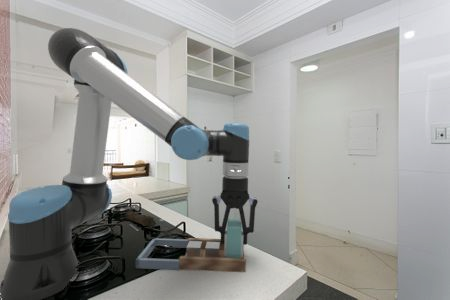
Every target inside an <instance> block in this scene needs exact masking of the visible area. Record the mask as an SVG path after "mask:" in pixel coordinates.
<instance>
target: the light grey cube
mask: <svg viewBox="0 0 450 300" xmlns="http://www.w3.org/2000/svg"><path fill="white" fill-rule="evenodd" d="M219 256H220V242H207V244H206V247H205V257H216V258H219Z"/></svg>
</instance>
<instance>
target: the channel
mask: <svg viewBox="0 0 450 300" xmlns="http://www.w3.org/2000/svg"><path fill="white" fill-rule="evenodd" d="M187 240H188V243H189V241H202V256H201V257H190V256H186V254H185V255H183V256H182V255H181V256H179V259H178V260H179V270H180V271H181V270H184V271H206V272H207V271H208V272H210V271H211V272H214V271H215V272H230V273H231V272H232V273H233V272H234V273H235V272H236V273H246V268H247V267H246V266H247V265H246V263H247V260H246V258H245V253H244V252H245V251H244V248H245V247H244V246H245V245H243V257H241V258H227V256H224V244H221V238H207V237H206V238H202V237H201V238H199V237H188V238H187ZM207 242H220V256H219V258H216V257H205V247H206V244H207Z"/></svg>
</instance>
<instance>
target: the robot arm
mask: <svg viewBox="0 0 450 300" xmlns="http://www.w3.org/2000/svg"><path fill="white" fill-rule="evenodd" d="M47 50H48V54H49V57H50V59H51V61H52V62H53V64H54V65H55V66H56V67H57V68H58V69H60V70H61V71H62V72H64V73H66V74H67V75H69V76H70V77H71V78H72V79H74V80H73V87H74V88H75V90H76V91H77V92H78V101H77V110H76V116H75V126H74V134H73V142H72V143H73V144H72V149H71V150H72V151H71V157H70V158H71V160H70V167H69V172H68V173H67V174H65V175H64V176H63V177H62V184H52V185H51V184H50V185H44V186H42V187H40V186H39V187H38V186H37V187H35V188H31V189H27V190H24V191H22V192H20V193H18V194H16V195H15V196H14V197H12V198H11V200H10V202H9V206H8V207H9V211H8V213H7V219H8V230H9V231H8V234H9V263H8V265H7V267H6V270H5V272H4V273H5V274H4V277H3V279H2V280H1V283H0V293H1V298H2V300H43V299H47V298H49V297H51V296H53V295H56V294H57V293H59V292H61V291H63V290H65V289H66V288H67V287H66V286H67V284H68V283H69V281H70V279H72V277H73V276H74V275H75V274H76V272H77V270H78V269H77V268H75V266H76V265H77V264H78V263H80V261H79V259H78V258H77V255H76V252H75V250H74V248H73V245H72V244H73V243H72V230H73V229H74V228H76V227H78V226H80V225H82V224H84V223H86V222H88V221H90V220H93V219H96V218H97V217H98V216H100V215H101V214H103V213H104V212H105V211H107V209H108V208H109V207H110V205H111V202H112V199H113V194H112V193H113V192H112V189H111V188H110V186H109V184H108V178H107V177H106V176H105V175H104V173H103V172H104V165H105V157H106V149H107V140H108V131H109V125H110V116H111V108H112V103H113V104H114V105H116V106H117V107H118V108H120V109H121V110H123V111H124V112H125V113H126V114H128V115H129V116H130V117H132V118H133V119H134V120H136V121H137V122H138V123H140V124H141V125H142V126H143V127H145V128H146V129H148V130H149V131H150V132H151V133H153V134H154V135H155V136H157V137H158V138H159V139H161V140H162V141H163V142H165V143H166V144H167V145H168V146H170V147H171V149H172V152H174V154H175V155H176V156H177V158H179V159H182V160H184V161H185V160H186V161H194V160H196V161H197V160H199V159H200V158H202V157H204V156H205V157H207V156H208V157H209V156H210V157H215V156H217V157H222V158H223V159H222V175H223V177H222V184H221V186H222V189H221V192H220V194H219V195H217V196H216V195H214V196H213V197H212V199H211V201H212V204H213V206H214V231H215V232H219V233H220V239H221V244H224V256H227V224H228V219H229V217H230V212H231V209H236V210H238V211H239V217H240V218H239V219H241V257H243V245H244V246H247V244H248V235H249V234H250V233H251V234H252V233H254V232H255V230H254V229H255V216H256V207H257V205H258V203H259V202H258V199H257V197H253V196H251V195H250V194H249V178H248V176H249V160H250V159H249V155H250V127H249V126H248V124H245V123H237V122H236V123H235V122H234V123H233V122H232V123H225V124H224V125H223V128H222V129H221V130H213V129H211V130H210V129H209V130H208V129H202V128H201V127H198V125H196V124H195V123H193V122H192V121H191V120H189V119H188V118H187V117H185V116H184V115H182V114H181V113H180V112H179V111H177V110H176V109H174V107H172V106H171V105H169V104H168V103H167V102H166V101H164V100H163V99H162V98H160V97H159V96H157V95H156V94H154V93H153V92H152V91H150V90H149V89H148V88H147V87H145V86H144V85H142V84H141V83H140V82H138V81H137V80H136V79H135V78H133V77H132V76H131V75H129V74H128V68H127V65H126V64H125V61H124V60H123V59H122V58H121V57H120V56H119V55H118V53H116V52H115V51H114V50H112V49H111V48H108V47H107V46H106V45H104V44H103V43H101V42H100V41H99V40H97V39H96V38H94V37H93V36H92V35H90V34H89V33H87V32H86V31H83V30H81V29H79V28H78V29H77V28H72V27H65V28H60V29H58V30H57V31H55V32H54V33H53V34H51V36H50V38H49V40H48V44H47ZM221 201H222V202H223V203H224V205H225V211H224V216H223V220H222V224H221V225H220V204H221ZM247 202H248V204H249V205H250V207H249V219H248V221H249V222H248V226H247V221H246V218H245V217H246V215H245V212H244V206H245V204H246V203H247ZM65 287H66V288H65ZM64 288H65V289H64Z"/></svg>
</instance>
